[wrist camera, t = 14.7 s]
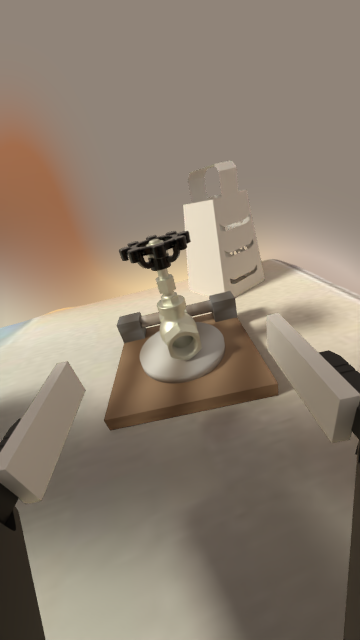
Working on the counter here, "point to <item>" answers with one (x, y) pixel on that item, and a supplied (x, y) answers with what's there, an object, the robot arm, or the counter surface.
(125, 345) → the shaft stand
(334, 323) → the counter surface
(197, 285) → the grater
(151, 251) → the valve
